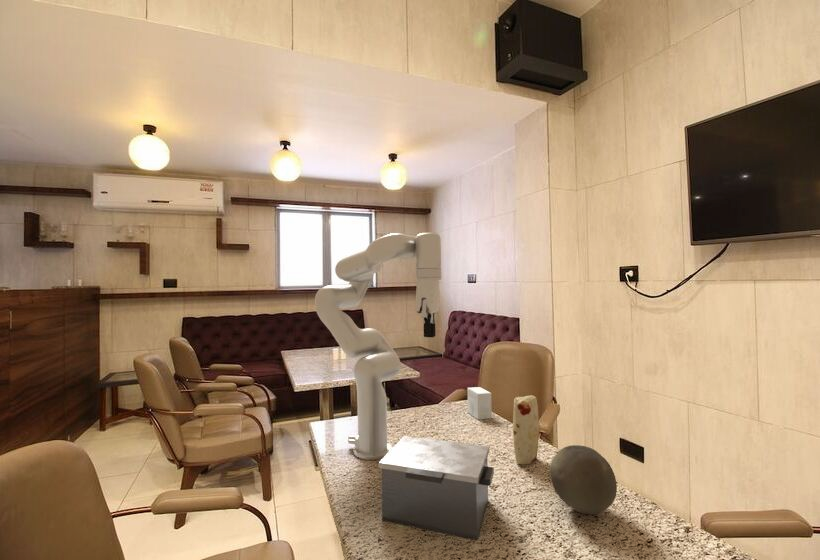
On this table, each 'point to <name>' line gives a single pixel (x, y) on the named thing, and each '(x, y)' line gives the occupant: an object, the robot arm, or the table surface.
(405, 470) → the lid
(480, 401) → the skincare box
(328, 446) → the table surface
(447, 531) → the grey lidded box
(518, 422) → the food model
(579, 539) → the table surface
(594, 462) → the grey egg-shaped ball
